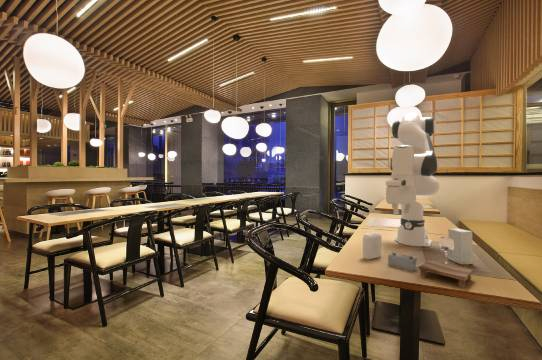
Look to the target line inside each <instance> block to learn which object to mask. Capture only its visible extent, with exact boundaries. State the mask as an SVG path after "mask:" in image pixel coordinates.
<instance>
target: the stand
mask: <svg viewBox="0 0 542 360" xmlns="http://www.w3.org/2000/svg"><path fill="white" fill-rule="evenodd" d="M418 270H419V271H420V272H419V275H420V277H421V278H426V277H427V272H428V273H432V274H437V275H440V276H445V277H449V278H452V279H456V280H458V288H461V289H465V287H466V281H469V282H471V280H472V274H473V273H474V272H473V271H474V270H473V269H472V268H468V267H464V266H463V267H462V266H460V265H459V266H458V265H454V264H451V265H450V263H448V264H446V263H445V262H441V261H440V262H439V261H435V260H432V259H428V260H426V261H425V262H423V263H421V264H420V265H419V266H418Z"/></svg>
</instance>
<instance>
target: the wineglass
mask: <svg viewBox="0 0 542 360" xmlns="http://www.w3.org/2000/svg"><path fill="white" fill-rule="evenodd" d="M438 248H439V249H440V250H441V252H444V255H445V262H444V263H446V264H450V263H448V257H449V252H452V251H453V250H454V248H455V245H454V240H453V238H450V237H448V236H440V239H439V242H438ZM450 265H452V264H450Z"/></svg>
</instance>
